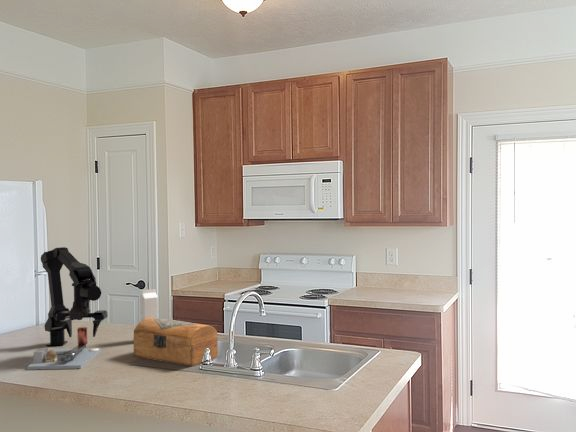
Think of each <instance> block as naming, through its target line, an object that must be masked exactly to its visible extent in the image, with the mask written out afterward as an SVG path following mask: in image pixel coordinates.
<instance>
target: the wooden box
mask: <svg viewBox="0 0 576 432" xmlns="http://www.w3.org/2000/svg"><path fill="white" fill-rule="evenodd" d="M218 342H219V340H218V331H217V329H216V328H215V327H214V326H212V325H209V324H202V323H194V322H189V321H182V320H178V319H177V320H175V319H169V318H159V317H158V318H145V319H144V320H142V321H141V320H140V322H138V324H137V325H136V326H135V327H134V329H133V357H136V358H139V359H146V358H149V359H148V360H151V359H156V360H155V361H157V360H161V361H160V362H163V361H166V362H165V363H168V362H171V363H170V364H174V363H176V364H175V365H179V364H184V365H186V366H185V367H190V366H193V367H195V365H196V366H199V365H201V364H202V363H201V362H202V359H203V356H204V352H205V349H206V348H209V349H210V354H211V359H212V360H214V359H217V358H218V354H219V353H218V352H219V351H218V350H219V344H218ZM184 365H183V366H184Z"/></svg>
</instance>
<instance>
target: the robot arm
mask: <svg viewBox="0 0 576 432" xmlns="http://www.w3.org/2000/svg"><path fill="white" fill-rule="evenodd" d="M40 262H41V264H42V265H41V266H42V268H43V269H44V270H45V271H46V273H47V277H48V278H47V279H48V287H49V295H50V309H49V311H48V313H47V320H46V322H45V323H44V326H43V328H44V331H46V332H49V343H47V344H46V346H47V347H49V346H50V347H51V346H52V347H53V346H54V347H56V346H57V347H58V346H61V347H62V346H65V345H66V344H67V343H68V340H66V338H65V332H67V335H68V337H69V338H72V336H73V328H72V327H73V325H72V324H73V323H72V321H75V320H77V321H81V320H83V319H84V318H85V319H86V318H87V319H89V318H91V319H92V318H93V320H92V324H93V326H92V328H93V329H92V337H93V338H94V337H96V334H97V331H98V330H99V329H98V328H99V326H100V325H101V322H102V321H104V320H105V319H107V318H108V311H107V310H96V311H94V312H91V309H90V302H91V301H93V302H95V301H97V300H99V299H100V298H101V295H102V289H101V288H100V287H99V286H98V285H97V281H96V276H95V275H94V272H93V269H91V267H90V266H89V265H87V264H85V263H83V262H80V261H79V260H78V259H77V258H76V257H75V256H74V255H73V254H72V253H71V252H70V251H69V248H68V247H66V246H63V247H62V246H61V247H55V248H53V249H51V250H49V251H44V252H43V254H41V255H40ZM63 266H64V267H66V269H67V270H68V271H69V274H68V276H69V277H70V279H71V281H72V283H71V286H72V287H73V302H72V307H71V308H70V309H69V308H68V307H66V306H65V304H64V303H65V302H64V296H63V295H64V294H63V285H62V280H61V270H62V268H63ZM65 330H66V331H65Z"/></svg>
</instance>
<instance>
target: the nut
mask: <svg viewBox="0 0 576 432" xmlns="http://www.w3.org/2000/svg"><path fill="white" fill-rule="evenodd" d="M55 357H56V352H55V351H53V350H52V349H51V350H47V354H46V358H47V359H48V360H51V359H55Z"/></svg>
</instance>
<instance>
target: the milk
mask: <svg viewBox="0 0 576 432" xmlns="http://www.w3.org/2000/svg"><path fill="white" fill-rule="evenodd" d="M156 291H157V289H156V288H152V289H142V291H141V293H142V294H141V295H140V296H139V297H140V298H139V299H140V300H139V301H140V307H139V308H140V322H141V321H142V320H144V319H145V318H159V297H158V294H157V293H156Z"/></svg>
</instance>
